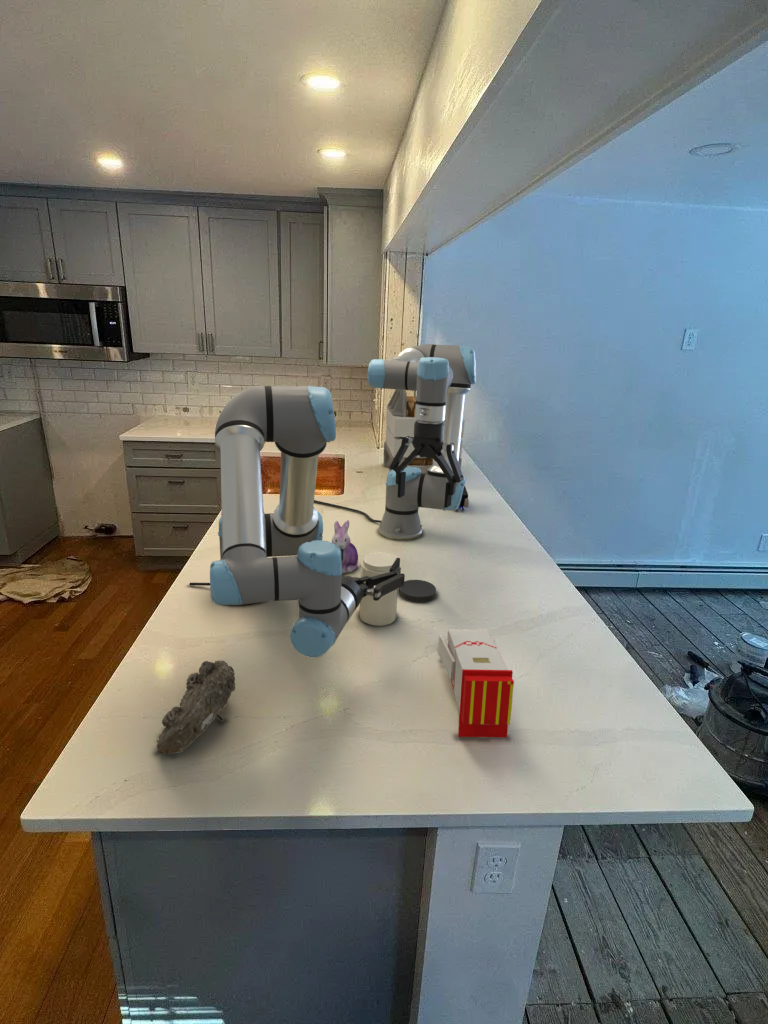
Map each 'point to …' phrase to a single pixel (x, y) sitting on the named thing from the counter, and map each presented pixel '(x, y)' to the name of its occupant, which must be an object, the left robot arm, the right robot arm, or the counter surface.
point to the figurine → (345, 547)
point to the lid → (417, 591)
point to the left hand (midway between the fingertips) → (369, 558)
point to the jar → (387, 604)
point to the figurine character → (464, 499)
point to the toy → (478, 682)
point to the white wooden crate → (404, 429)
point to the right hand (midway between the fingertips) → (423, 501)
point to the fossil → (197, 706)
